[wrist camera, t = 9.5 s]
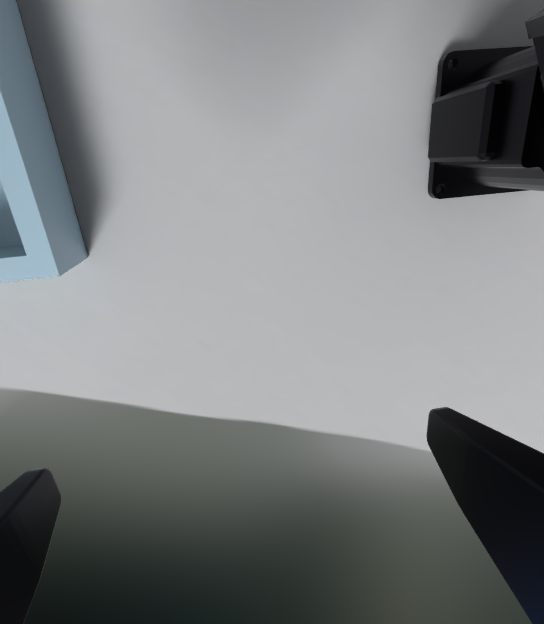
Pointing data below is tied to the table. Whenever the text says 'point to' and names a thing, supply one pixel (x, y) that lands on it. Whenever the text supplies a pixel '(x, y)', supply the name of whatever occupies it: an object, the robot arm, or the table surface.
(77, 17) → the table surface
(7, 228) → the box
